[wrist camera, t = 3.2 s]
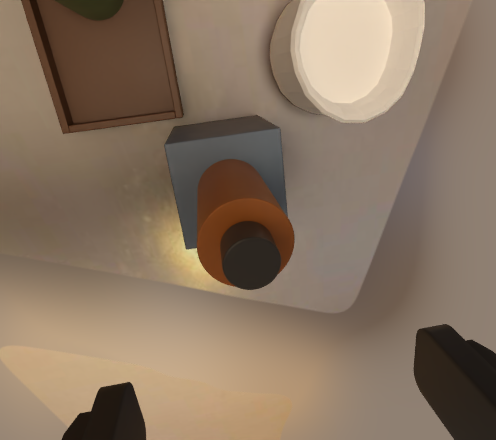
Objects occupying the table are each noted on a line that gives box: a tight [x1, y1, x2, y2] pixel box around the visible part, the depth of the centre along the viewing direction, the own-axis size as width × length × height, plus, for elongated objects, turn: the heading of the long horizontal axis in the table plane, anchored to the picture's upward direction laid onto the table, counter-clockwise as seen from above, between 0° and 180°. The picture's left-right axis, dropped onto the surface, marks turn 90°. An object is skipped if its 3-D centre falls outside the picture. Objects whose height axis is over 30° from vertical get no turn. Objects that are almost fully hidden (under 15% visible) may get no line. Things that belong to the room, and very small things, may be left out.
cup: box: [270, 0, 425, 123], centre depth 28 cm, size 10×10×10 cm
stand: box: [164, 115, 288, 249], centre depth 30 cm, size 8×8×10 cm
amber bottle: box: [197, 159, 294, 290], centre depth 20 cm, size 5×5×11 cm
